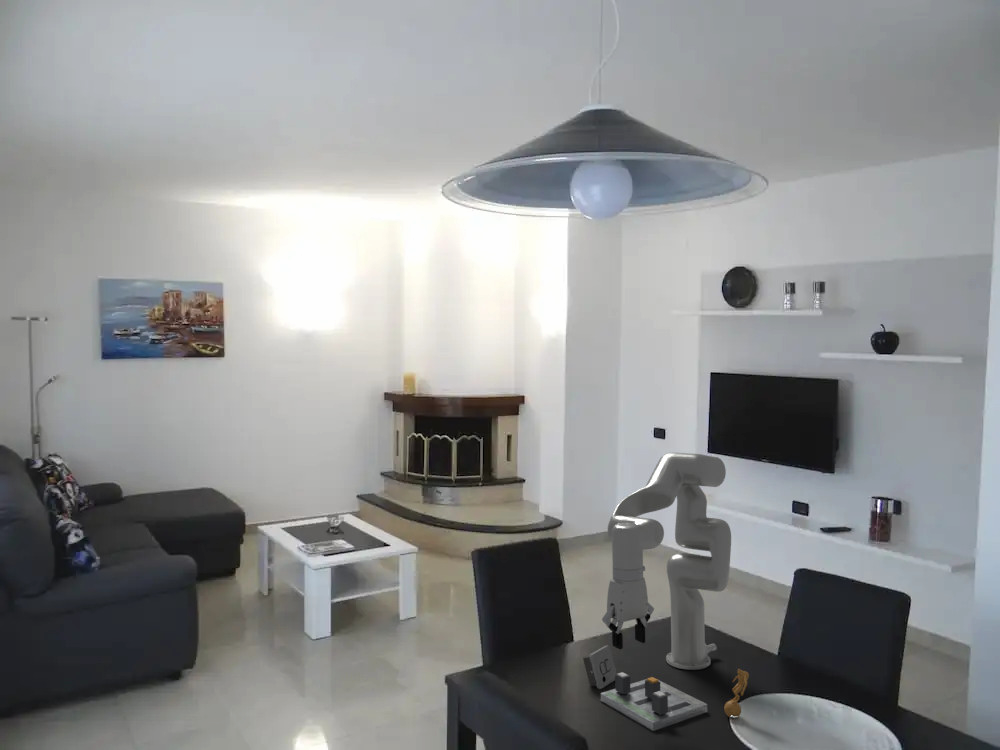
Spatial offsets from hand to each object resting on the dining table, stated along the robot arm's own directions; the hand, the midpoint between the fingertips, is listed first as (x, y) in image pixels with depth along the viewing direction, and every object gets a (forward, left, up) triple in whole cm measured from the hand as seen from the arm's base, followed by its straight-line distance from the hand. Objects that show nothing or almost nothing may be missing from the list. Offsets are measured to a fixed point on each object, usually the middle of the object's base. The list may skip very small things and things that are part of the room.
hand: (629, 643), depth 200 cm
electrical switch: (-6, -19, -18) cm, 27 cm away
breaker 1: (-3, -7, -15) cm, 17 cm away
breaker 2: (-3, +7, -15) cm, 17 cm away
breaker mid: (-8, 0, -15) cm, 17 cm away
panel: (-8, 0, -18) cm, 19 cm away
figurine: (-20, +16, -18) cm, 32 cm away
